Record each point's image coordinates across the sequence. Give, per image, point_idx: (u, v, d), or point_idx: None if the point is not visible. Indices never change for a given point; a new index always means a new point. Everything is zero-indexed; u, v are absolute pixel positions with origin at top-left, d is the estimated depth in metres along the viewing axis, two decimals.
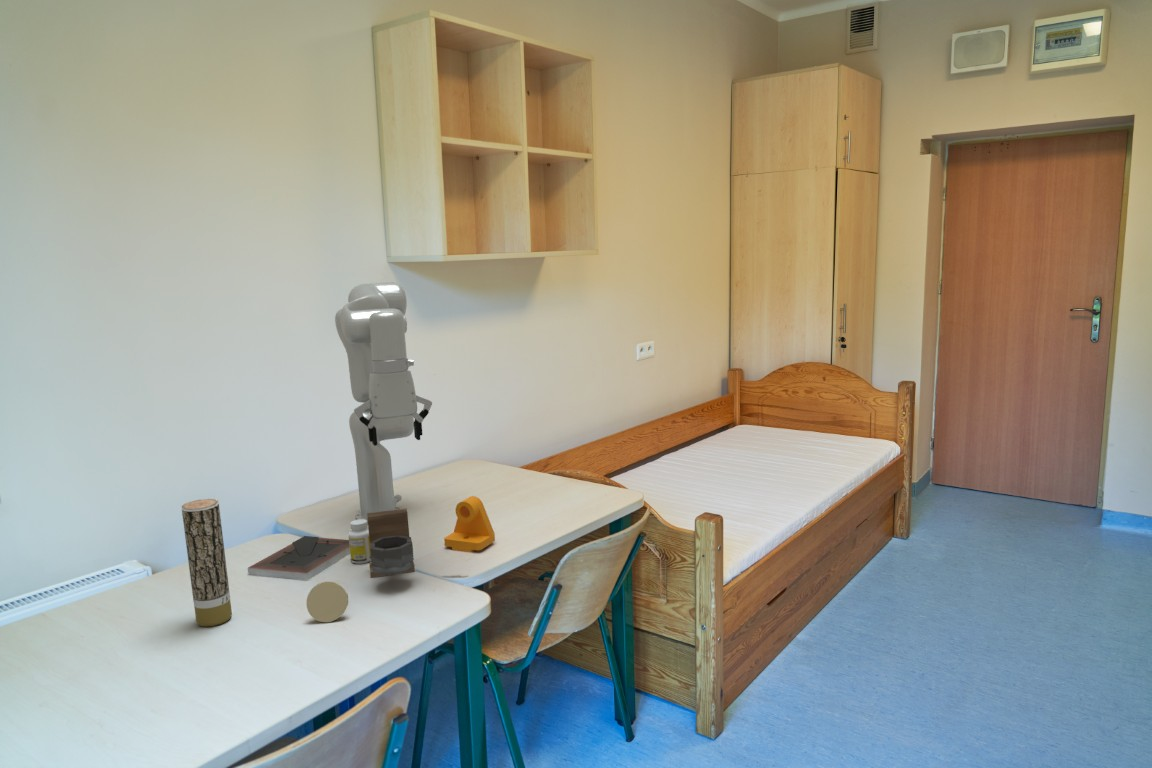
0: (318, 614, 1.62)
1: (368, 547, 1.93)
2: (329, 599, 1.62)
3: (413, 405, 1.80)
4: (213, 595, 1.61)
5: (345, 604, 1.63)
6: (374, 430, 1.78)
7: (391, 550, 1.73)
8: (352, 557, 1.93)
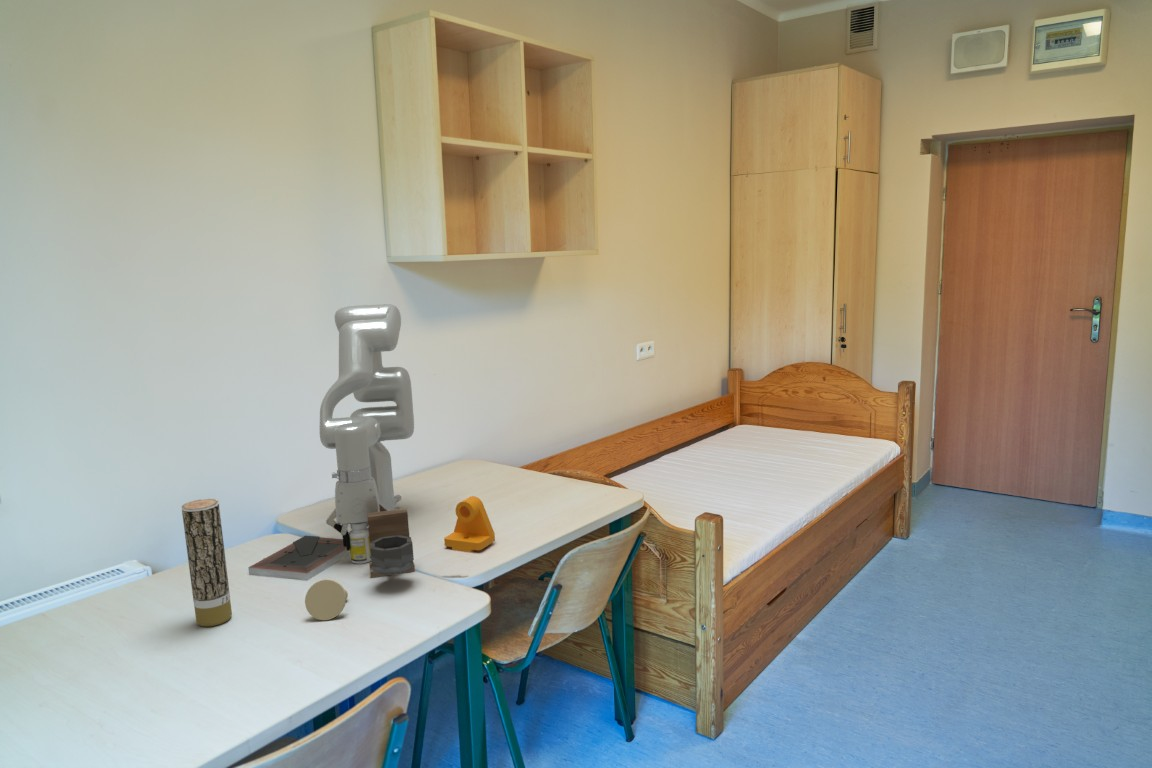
0: (316, 612, 1.63)
1: (368, 547, 1.93)
2: (327, 597, 1.63)
3: None
4: (213, 595, 1.61)
5: (343, 602, 1.63)
6: None
7: (391, 550, 1.73)
8: (352, 557, 1.93)
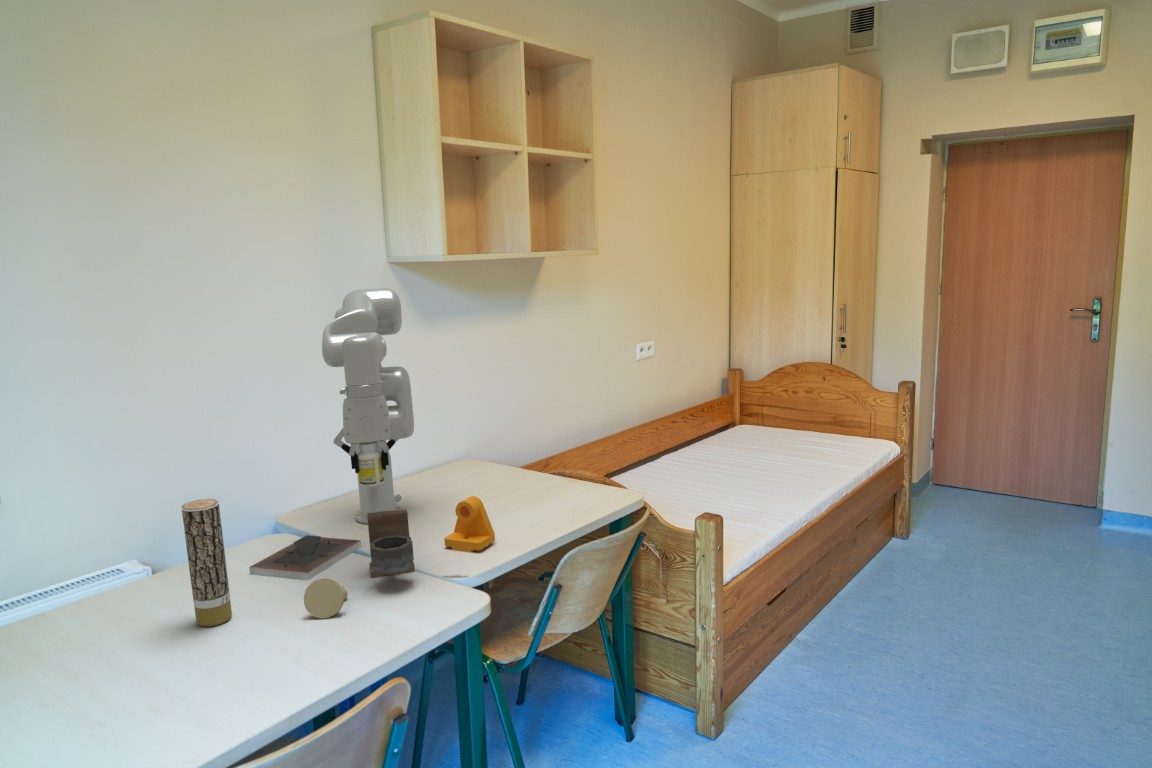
0: (315, 610, 1.64)
1: (378, 469, 1.80)
2: (326, 596, 1.64)
3: None
4: (213, 595, 1.61)
5: (341, 601, 1.64)
6: None
7: (391, 550, 1.73)
8: (361, 480, 1.80)
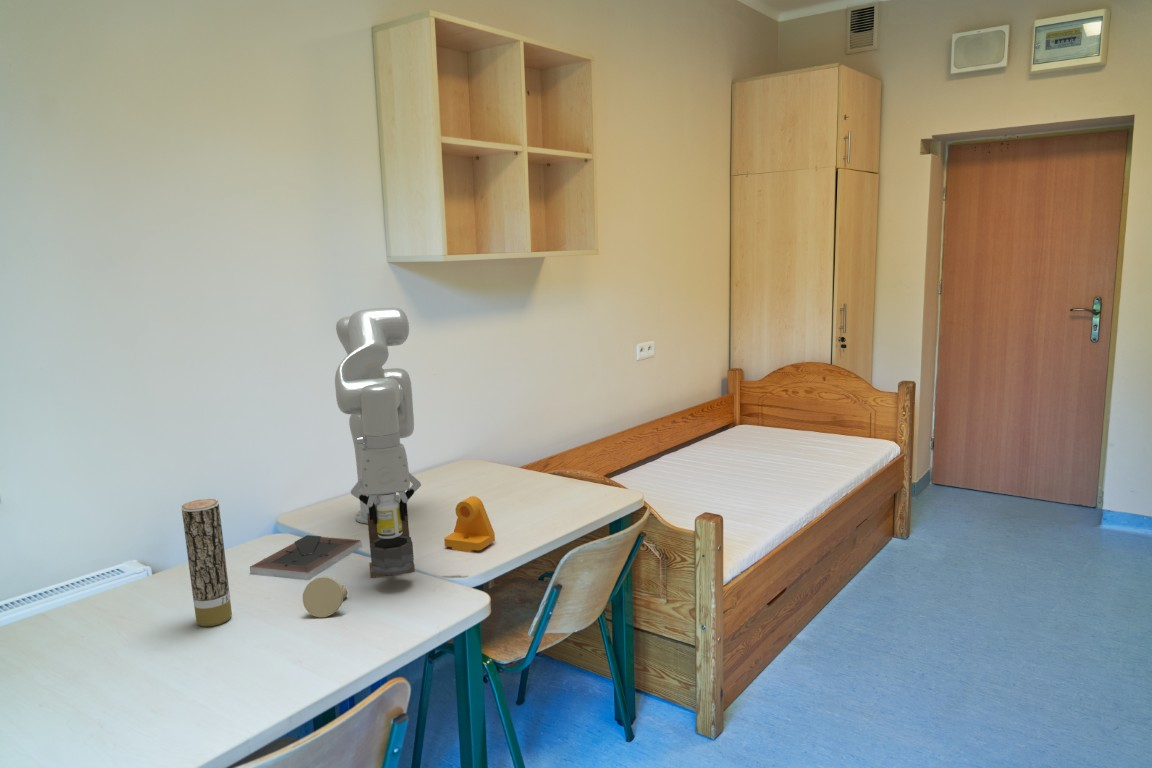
0: (313, 609, 1.64)
1: (397, 520, 1.75)
2: (324, 595, 1.65)
3: None
4: (213, 595, 1.61)
5: (340, 600, 1.65)
6: None
7: (391, 550, 1.73)
8: (379, 531, 1.75)
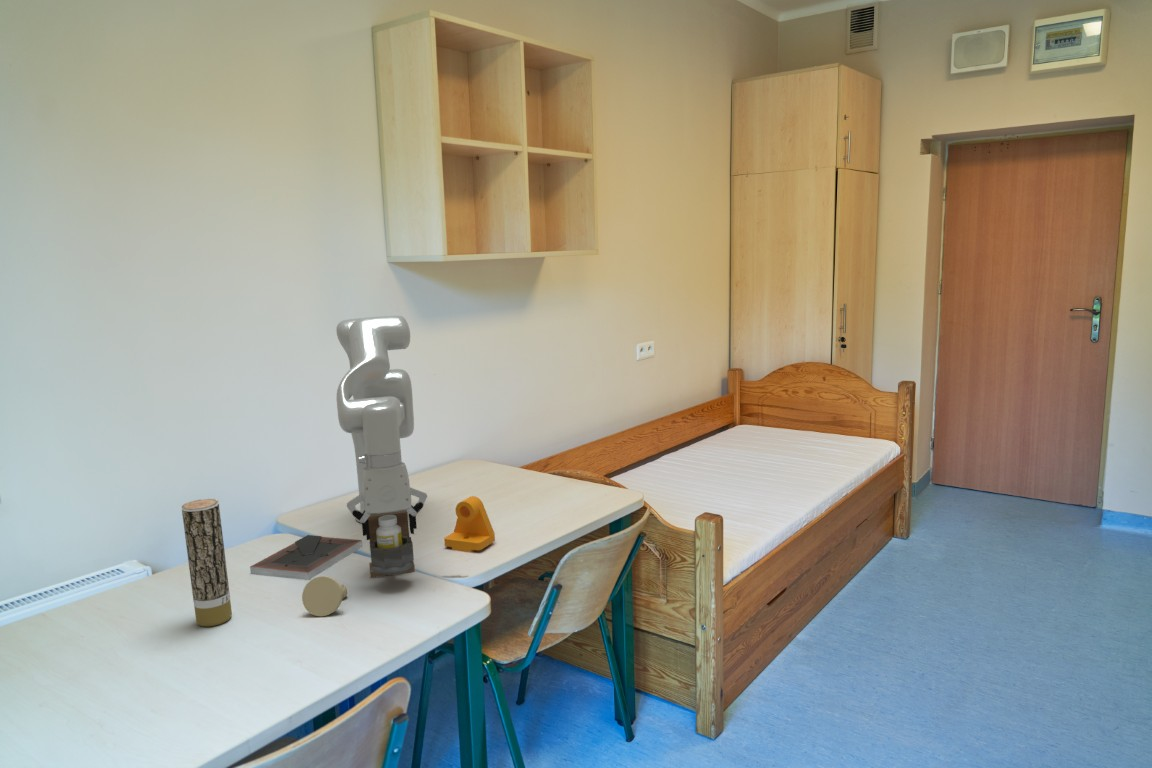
0: (313, 608, 1.65)
1: (398, 545, 1.76)
2: (324, 594, 1.65)
3: None
4: (213, 595, 1.61)
5: (339, 599, 1.65)
6: None
7: (391, 550, 1.73)
8: None
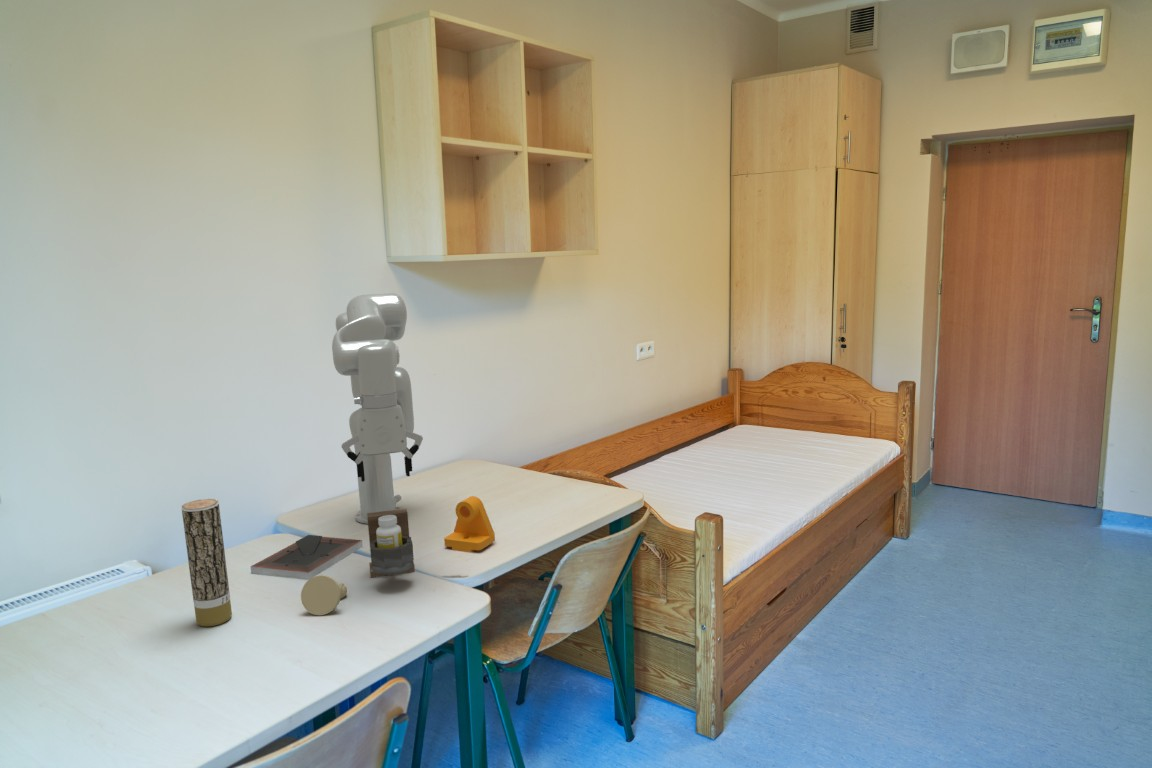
0: (311, 607, 1.65)
1: (398, 545, 1.76)
2: (322, 593, 1.66)
3: None
4: (213, 595, 1.61)
5: (337, 599, 1.65)
6: None
7: (391, 550, 1.73)
8: None
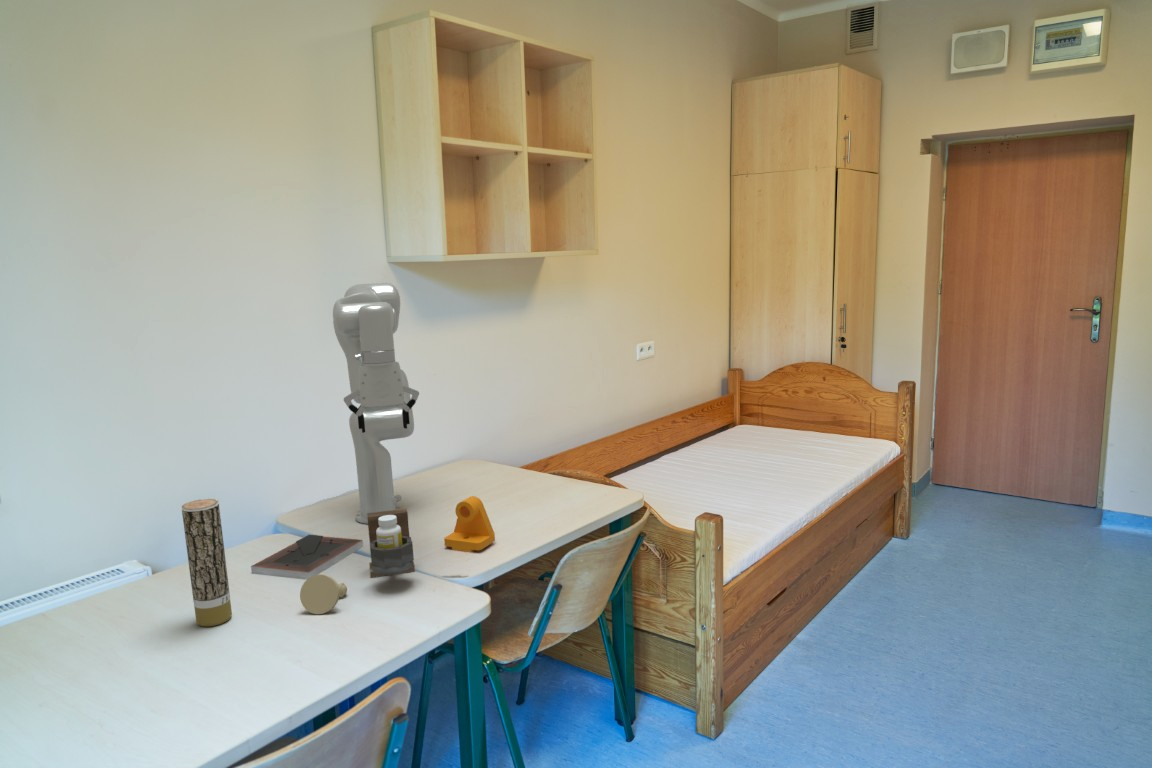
0: (310, 605, 1.66)
1: (398, 545, 1.76)
2: (321, 592, 1.66)
3: None
4: (213, 595, 1.61)
5: (335, 598, 1.66)
6: None
7: (391, 550, 1.73)
8: None
